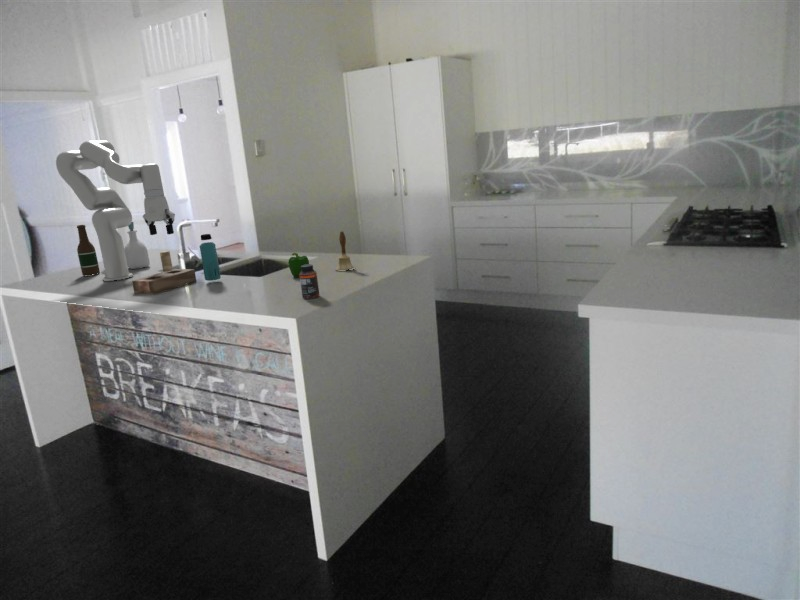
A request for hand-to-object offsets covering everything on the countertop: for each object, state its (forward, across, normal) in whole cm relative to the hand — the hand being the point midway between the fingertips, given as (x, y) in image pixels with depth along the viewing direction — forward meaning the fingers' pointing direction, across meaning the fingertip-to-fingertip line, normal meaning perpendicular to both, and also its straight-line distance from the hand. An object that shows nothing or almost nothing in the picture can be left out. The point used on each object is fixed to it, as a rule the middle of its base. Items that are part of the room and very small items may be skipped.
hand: (162, 234), depth 258 cm
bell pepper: (+21, +60, +10) cm, 65 cm away
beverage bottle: (+20, +27, -4) cm, 34 cm away
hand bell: (+21, +74, +23) cm, 81 cm away
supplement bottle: (+21, +85, -21) cm, 90 cm away
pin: (+20, -1, 0) cm, 20 cm away
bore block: (+20, +10, -13) cm, 26 cm away
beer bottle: (+19, -56, +5) cm, 59 cm away
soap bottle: (+19, -43, +22) cm, 52 cm away
